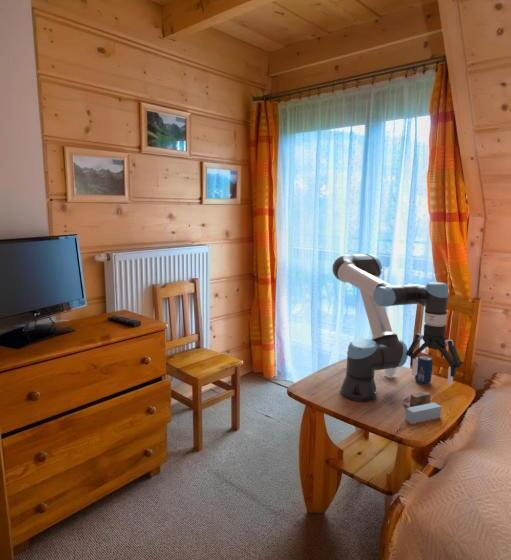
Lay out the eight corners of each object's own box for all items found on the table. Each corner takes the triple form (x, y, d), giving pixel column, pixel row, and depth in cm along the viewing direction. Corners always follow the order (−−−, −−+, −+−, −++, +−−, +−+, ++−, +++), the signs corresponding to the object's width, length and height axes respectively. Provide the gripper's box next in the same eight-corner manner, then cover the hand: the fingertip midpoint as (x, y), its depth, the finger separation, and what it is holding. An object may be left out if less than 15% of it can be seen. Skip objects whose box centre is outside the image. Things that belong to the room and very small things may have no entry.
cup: (387, 379, 200) (388, 363, 199) (376, 371, 210) (377, 355, 208) (400, 378, 202) (402, 362, 200) (388, 370, 211) (390, 354, 210)
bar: (439, 418, 167) (441, 406, 166) (411, 424, 162) (412, 412, 161) (433, 413, 170) (434, 402, 169) (405, 420, 165) (406, 408, 164)
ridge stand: (416, 414, 169) (417, 400, 168) (403, 406, 175) (405, 392, 174) (435, 409, 173) (437, 396, 172) (422, 402, 179) (423, 388, 178)
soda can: (428, 379, 202) (430, 355, 200) (432, 385, 195) (435, 360, 193) (412, 378, 203) (415, 354, 200) (416, 384, 196) (419, 359, 193)
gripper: (398, 320, 165) (396, 373, 168) (465, 332, 147) (461, 391, 150) (408, 317, 170) (405, 368, 173) (474, 328, 152) (470, 385, 155)
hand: (431, 379), depth 161 cm, fingers open, 13 cm apart
